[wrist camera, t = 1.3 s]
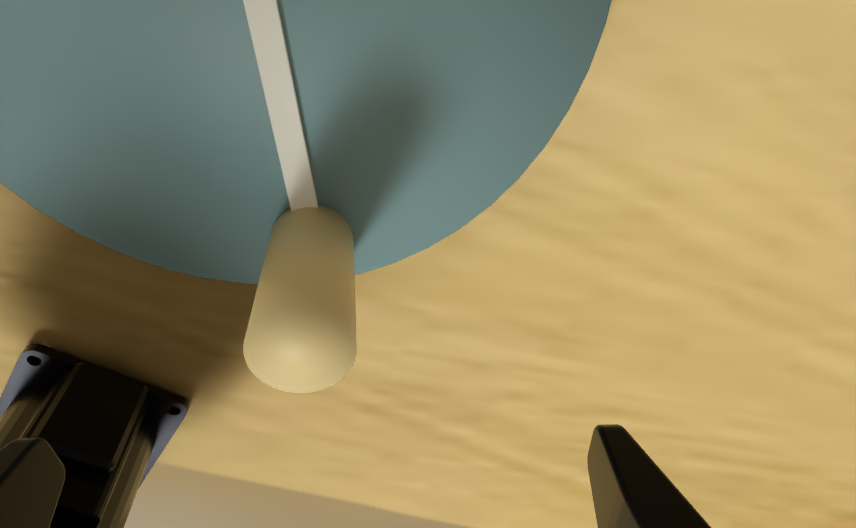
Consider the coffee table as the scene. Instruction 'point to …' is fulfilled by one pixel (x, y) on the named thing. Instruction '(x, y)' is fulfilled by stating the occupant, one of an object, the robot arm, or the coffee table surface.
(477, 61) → the handwheel
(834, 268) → the coffee table surface
